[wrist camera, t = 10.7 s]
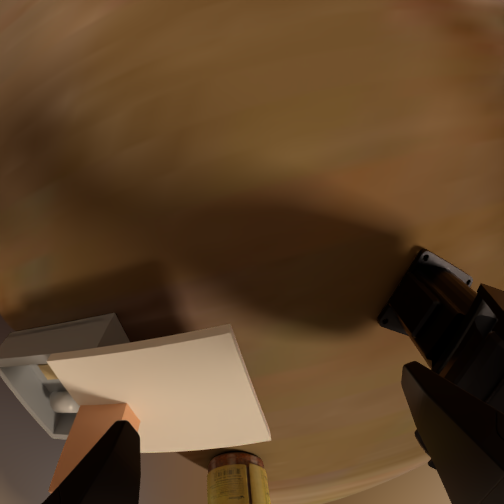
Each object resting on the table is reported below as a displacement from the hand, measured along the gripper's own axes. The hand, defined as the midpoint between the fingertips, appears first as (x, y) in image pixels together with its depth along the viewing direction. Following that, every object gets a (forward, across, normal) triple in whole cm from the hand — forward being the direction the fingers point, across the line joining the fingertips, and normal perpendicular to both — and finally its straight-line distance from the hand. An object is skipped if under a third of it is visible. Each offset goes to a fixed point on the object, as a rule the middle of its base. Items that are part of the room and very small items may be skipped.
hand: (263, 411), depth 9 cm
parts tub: (+12, +16, +7) cm, 21 cm away
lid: (+8, +8, +7) cm, 13 cm away
